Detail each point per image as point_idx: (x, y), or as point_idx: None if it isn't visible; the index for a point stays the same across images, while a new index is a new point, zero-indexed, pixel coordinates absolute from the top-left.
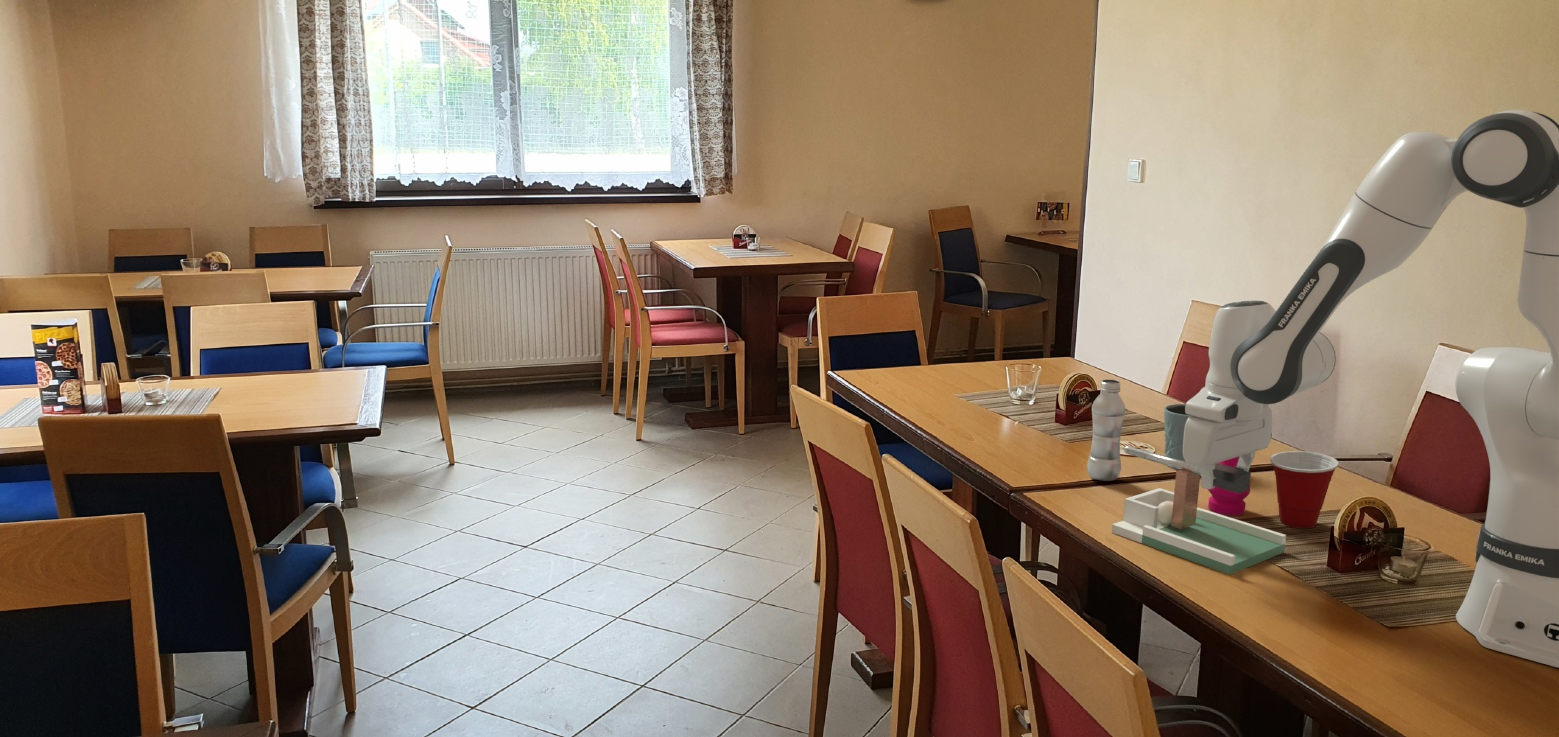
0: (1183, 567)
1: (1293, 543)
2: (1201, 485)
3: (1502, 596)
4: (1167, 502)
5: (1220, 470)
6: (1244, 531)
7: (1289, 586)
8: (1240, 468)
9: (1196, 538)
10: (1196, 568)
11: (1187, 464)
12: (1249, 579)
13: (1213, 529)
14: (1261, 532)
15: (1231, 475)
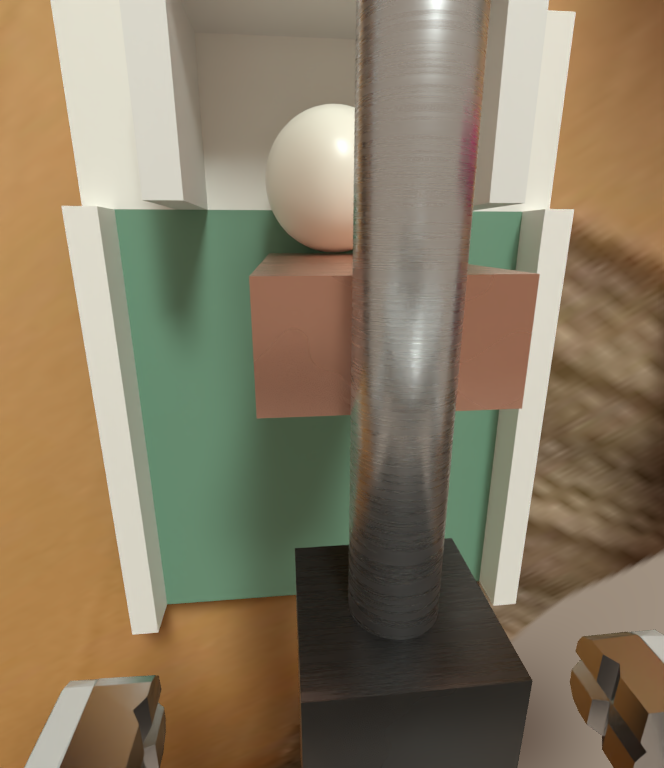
0: (53, 469)
1: (587, 531)
2: (66, 690)
3: None
4: (324, 172)
5: None
6: (496, 454)
7: (239, 698)
8: (631, 759)
9: None
10: (92, 497)
11: (381, 363)
12: (179, 626)
13: None
14: (496, 526)
15: None
